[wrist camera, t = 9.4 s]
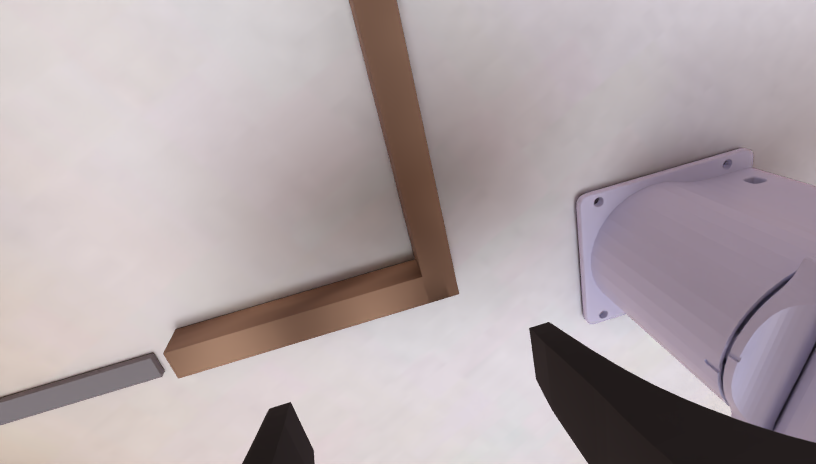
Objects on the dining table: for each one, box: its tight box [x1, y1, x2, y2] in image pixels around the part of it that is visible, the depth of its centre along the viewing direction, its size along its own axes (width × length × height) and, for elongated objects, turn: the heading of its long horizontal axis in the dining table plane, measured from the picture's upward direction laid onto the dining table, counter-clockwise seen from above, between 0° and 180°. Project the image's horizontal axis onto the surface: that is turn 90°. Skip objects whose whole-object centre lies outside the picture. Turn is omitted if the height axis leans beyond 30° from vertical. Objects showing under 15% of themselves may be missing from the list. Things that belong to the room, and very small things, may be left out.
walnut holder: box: [163, 0, 459, 378], centre depth 17 cm, size 14×19×2 cm
